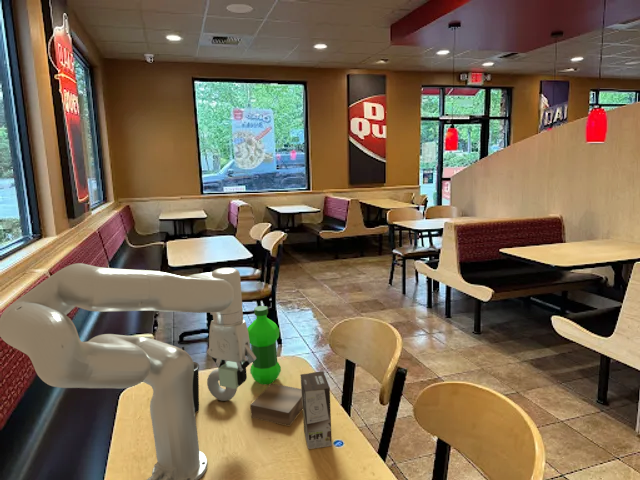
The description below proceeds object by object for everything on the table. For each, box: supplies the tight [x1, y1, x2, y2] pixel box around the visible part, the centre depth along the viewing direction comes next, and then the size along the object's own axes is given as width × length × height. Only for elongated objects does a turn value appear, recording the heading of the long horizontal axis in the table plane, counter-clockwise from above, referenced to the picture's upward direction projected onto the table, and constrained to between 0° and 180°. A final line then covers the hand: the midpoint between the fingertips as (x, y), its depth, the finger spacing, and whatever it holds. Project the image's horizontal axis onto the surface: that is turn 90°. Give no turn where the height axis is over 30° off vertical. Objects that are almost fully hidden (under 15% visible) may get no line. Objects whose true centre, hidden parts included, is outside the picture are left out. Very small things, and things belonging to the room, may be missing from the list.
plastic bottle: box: [247, 305, 282, 386], centre depth 142 cm, size 10×10×25 cm
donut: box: [206, 368, 238, 402], centre depth 134 cm, size 10×4×10 cm, turn 68°
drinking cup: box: [181, 346, 200, 414], centre depth 128 cm, size 8×8×20 cm
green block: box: [217, 361, 243, 389], centre depth 117 cm, size 5×5×5 cm
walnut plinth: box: [250, 383, 303, 427], centre depth 128 cm, size 12×12×4 cm
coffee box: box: [299, 370, 333, 450], centre depth 114 cm, size 9×6×16 cm
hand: (233, 380), depth 118 cm, fingers closed on green block, 5 cm apart
